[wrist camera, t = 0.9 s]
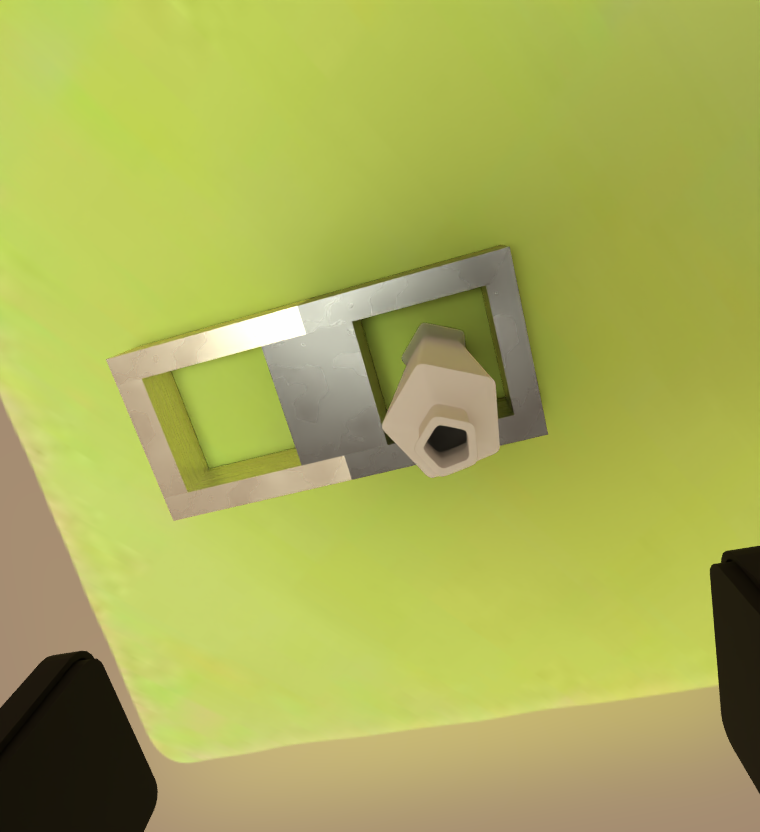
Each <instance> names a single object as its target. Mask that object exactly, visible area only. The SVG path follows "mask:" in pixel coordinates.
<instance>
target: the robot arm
mask: <svg viewBox="0 0 760 832" xmlns="http://www.w3.org/2000/svg"><path fill="white" fill-rule="evenodd" d="M710 580H711V593H712V605H713V617H714V630H715V642H716V655H717V667H718V679H719V692H720V704H721V715H722V721H723V725H724V728H725V731H726V734H727V737H728V739H729V741H730V743H731V745H732V747H733V749H734V751H735V752H736V754H737V756H738V757H739V759H740V761H741V763H742V764H743V766H744V768H745V769H746V771H747V773H748V775H749V776H750V778H751V780H752V781H753V783H754V785H755V786H756V788H757V790H758V792H759V793H760V546H756V547H749V548H743V549H736V550H730V551H725V552H724V553H723V555H722V558H721V563H718V564H713V565H711V568H710ZM157 792H158V791H157V784H156V781H155V778H154V776H153V774H152V772H151V769H150V767H149V765H148V763H147V761H146V759H145V756H144V754H143V752H142V750H141V747H140V745H139V743H138V741H137V739H136V736H135V734H134V732H133V730H132V728H131V725H130V723H129V721H128V719H127V717H126V714H125V712H124V710H123V708H122V706H121V703H120V701H119V699H118V697H117V695H116V692H115V690H114V688H113V686H112V684H111V682H110V679H109V677H108V675H107V673H106V670H105V668H104V666H103V664H102V663H101V662H100V661H99V660H98V659H94V657H93V656H92V655H91V654H90V653H88V652H87V651H78V652H72V653H65V654H59V655H53V656H49V657H47V658H45V659H44V660H43V661H42V662H41V663H40V664H39V665H38V666H37V667H36V668H35V669H34V671H33V672H32V673H31V674H30V675H29V676H28V677H27V679H26V680H25V681H24V682H23V683H22V684H21V685H20V687H19V688H18V689H17V690H16V691H15V692H14V693H13V694H12V696H11V697H10V698H9V699H8V700H7V701H6V702H5V703H4V705H3V706H2V707H1V708H0V832H144V830H145V828H146V826H147V824H148V822H149V819H150V817H151V815H152V813H153V811H154V808H155V805H156V801H157Z"/></svg>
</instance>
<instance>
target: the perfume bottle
mask: <svg viewBox="0 0 760 832" xmlns="http://www.w3.org/2000/svg"><path fill="white" fill-rule="evenodd" d="M402 361H403V362H404V364H405V365H406V368H405V370H404V373H403V375H402V378H401V380H400V382H399V385H398V387H397V390H396V392H395V394H394V397H393V399H392V402H391V404H390V406H389V409H388V411H387V414H386V416H385V418H384V421H383V424H382V429H383V430H384V432H385V433H386V434H387V435H388V436H389V437H390V438H391V439H392V440H393V441H394V442H395V443H396V444H397V445H398V446H399V447H400V448H401V449H402V450H403V451H404V452H405V453H406V454H407V456H408V457H409V458H410V459H411V460H412V461H413V462H414V463H415V464H416V465H417V466H418V467H419V468H420V469H421V470H422V471H423V472H424V473H425V474H426V475H427V476H429V477H432V478H433V477H437V476H447V475H449V474H452V473H454V472H457V471H459V470H462V469H464V468H467V467H469V466H472V465H473V464H475V463H476V461H478V460H480V459H483V458H485V457H488V456H490V455H493V454H495V453H496V452H498V450H499V447H500V443H499V428H498V413H497V398H496V385H495V381H494V380H493V379H492V378H491V377H490V375H489V374H488V373H487V372H486V371H485V370H484V369H483V367H482V366H481V365H480V364H479V363H478V362H477V361H476V360H475V358H474V357H473V356H472V355H471V354H470V353H469V352H468V350H467V349H466V347H465V335H464V332H463V331H462V330H458V329H454V328H449V327H444V326H439V325H434V324H429V323H422V324H421V325H420V326H419V327H418V329H417V331H416V333H415V334H414V336H413V338H412V340H411V341H410V343H409V345H408V346H407V348H406V350H405V352H404V353H403V355H402Z"/></svg>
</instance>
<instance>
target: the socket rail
mask: <svg viewBox="0 0 760 832" xmlns="http://www.w3.org/2000/svg"><path fill="white" fill-rule="evenodd" d="M478 287H481V290H482V295H483V299H484V304H485V308H486V313H487V317H488V322H489V326H490V331H491V335H492V340H493V344H494V349H495V353H496V358H497V362H498V366H499V371H500V375H501V380H502V384H503V389H504V393H505V397H504V398H500V399H497V413H498V428H499V443H500V445H504V444H509V443H513V442H517V441H522V440H526V439H530V438H535V437H539V436H543V435H548V432H547V427H546V422H545V417H544V412H543V407H542V403H541V398H540V393H539V388H538V383H537V378H536V373H535V368H534V364H533V359H532V354H531V349H530V344H529V339H528V334H527V329H526V324H525V320H524V315H523V310H522V305H521V300H520V295H519V290H518V285H517V281H516V276H515V271H514V266H513V261H512V256H511V251H510V247H508V246H503V245H499V246H495V247H491V248H488V249H484V250H481V251H477V252H474V253H470V254H466V255H463V256H459V257H456V258H452V259H449V260H445V261H441V262H438V263H434V264H431V265H427V266H424V267H420V268H417V269H413V270H409V271H406V272H402V273H399V274H395V275H392V276H388V277H384V278H381V279H377V280H374V281H370V282H367V283H363V284H359V285H356V286H352V287H349V288H345V289H342V290H338V291H334V292H331V293H327V294H324V295H320V296H317V297H313V298H310V299H306V300H302V301H299V302H295V303H292V304H288V305H285V306H281V307H277V308H274V309H270V310H267V311H263V312H260V313H256V314H252V315H249V316H245V317H242V318H238V319H235V320H231V321H228V322H224V323H220V324H217V325H213V326H210V327H206V328H203V329H199V330H195V331H192V332H188V333H185V334H181V335H178V336H174V337H170V338H167V339H163V340H160V341H156V342H153V343H149V344H145V345H142V346H138V347H135V348H133V349H130V350H128V351H125V352H123V353H121V354H118V355H116V356H113V357H111V358H108V359H106V360H107V363H108V365H109V368H110V370H111V372H112V375H113V377H114V380H115V382H116V384H117V387H118V389H119V392H120V394H121V396H122V399H123V401H124V403H125V406H126V408H127V411H128V413H129V415H130V418H131V420H132V423H133V425H134V427H135V430H136V432H137V434H138V437H139V439H140V442H141V444H142V446H143V449H144V451H145V454H146V456H147V458H148V461H149V463H150V466H151V468H152V470H153V473H154V475H155V477H156V480H157V482H158V485H159V487H160V489H161V492H162V494H163V497H164V499H165V501H166V504H167V506H168V508H169V511H170V513H171V516H172V518H173V520H179V519H183V518H187V517H192V516H196V515H200V514H205V513H209V512H213V511H218V510H222V509H227V508H231V507H235V506H240V505H244V504H248V503H253V502H257V501H261V500H266V499H270V498H274V497H279V496H283V495H287V494H292V493H296V492H300V491H305V490H309V489H313V488H318V487H322V486H326V485H331V484H335V483H339V482H344V481H348V480H352V479H357V478H361V477H365V476H370V475H374V474H378V473H383V472H387V471H391V470H396V469H400V468H404V467H409V466H413V465H416V464H415V463H414V462H413V461H412V460H411V459H410V458H409V457H408V456H407V454H406V453H405V452H404V451H403V450H402V449H401V448H400V447H399V446H398V445H397V444H396V443H395V442H394V441H393V440H392V439H391V438H390V437H389V436H388V435H387V434H386V433H385V432H384V430H383V429H382V424H383V421H384V418H385V416H386V414H387V410H386V407H385V403H384V400H383V396H382V393H381V389H380V386H379V382H378V379H377V375H376V372H375V368H374V365H373V361H372V358H371V354H370V351H369V347H368V344H367V340H366V337H365V333H364V330H363V326H362V323H361V319H364V318H367V317H371V316H375V315H378V314H382V313H386V312H389V311H393V310H397V309H400V308H404V307H408V306H411V305H415V304H419V303H423V302H426V301H430V300H434V299H437V298H441V297H445V296H448V295H452V294H456V293H459V292H463V291H467V290H470V289H474V288H478ZM260 346H261V347H262V350H263V353H264V356H265V359H266V362H267V365H268V367H269V370H270V373H271V376H272V379H273V382H274V385H275V388H276V391H277V394H278V397H279V400H280V403H281V406H282V409H283V412H284V415H285V418H286V421H287V424H288V426H289V429H290V432H291V435H292V438H293V441H294V444H295V447H296V448H293V449H289V450H285V451H281V452H277V453H273V454H268V455H264V456H260V457H256V458H252V459H248V460H244V461H240V462H235V463H231V464H227V465H223V466H219V467H215V468H211V469H209V468H208V466H207V463H206V461H205V458H204V455H203V453H202V450H201V448H200V445H199V443H198V440H197V437H196V435H195V432H194V430H193V427H192V425H191V422H190V419H189V417H188V414H187V412H186V409H185V407H184V404H183V401H182V399H181V396H180V394H179V391H178V388H177V386H176V383H175V381H174V378H173V376H172V373H171V371H172V370H176V369H179V368H183V367H187V366H190V365H194V364H198V363H201V362H205V361H209V360H212V359H216V358H220V357H224V356H227V355H231V354H235V353H238V352H242V351H246V350H249V349H253V348H257V347H260Z"/></svg>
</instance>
